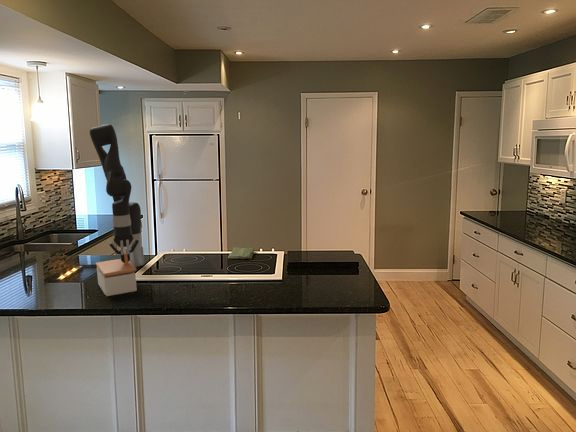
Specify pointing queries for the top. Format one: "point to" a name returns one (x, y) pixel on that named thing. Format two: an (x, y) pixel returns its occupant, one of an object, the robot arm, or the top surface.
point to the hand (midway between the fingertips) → (125, 262)
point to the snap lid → (116, 266)
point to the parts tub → (117, 283)
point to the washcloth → (241, 253)
